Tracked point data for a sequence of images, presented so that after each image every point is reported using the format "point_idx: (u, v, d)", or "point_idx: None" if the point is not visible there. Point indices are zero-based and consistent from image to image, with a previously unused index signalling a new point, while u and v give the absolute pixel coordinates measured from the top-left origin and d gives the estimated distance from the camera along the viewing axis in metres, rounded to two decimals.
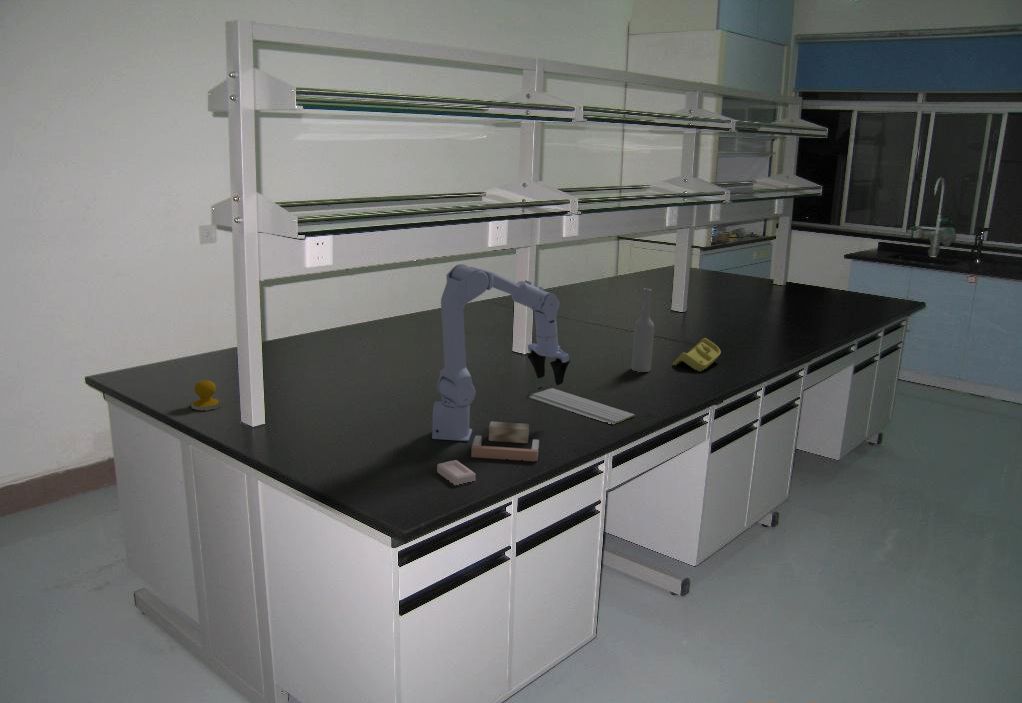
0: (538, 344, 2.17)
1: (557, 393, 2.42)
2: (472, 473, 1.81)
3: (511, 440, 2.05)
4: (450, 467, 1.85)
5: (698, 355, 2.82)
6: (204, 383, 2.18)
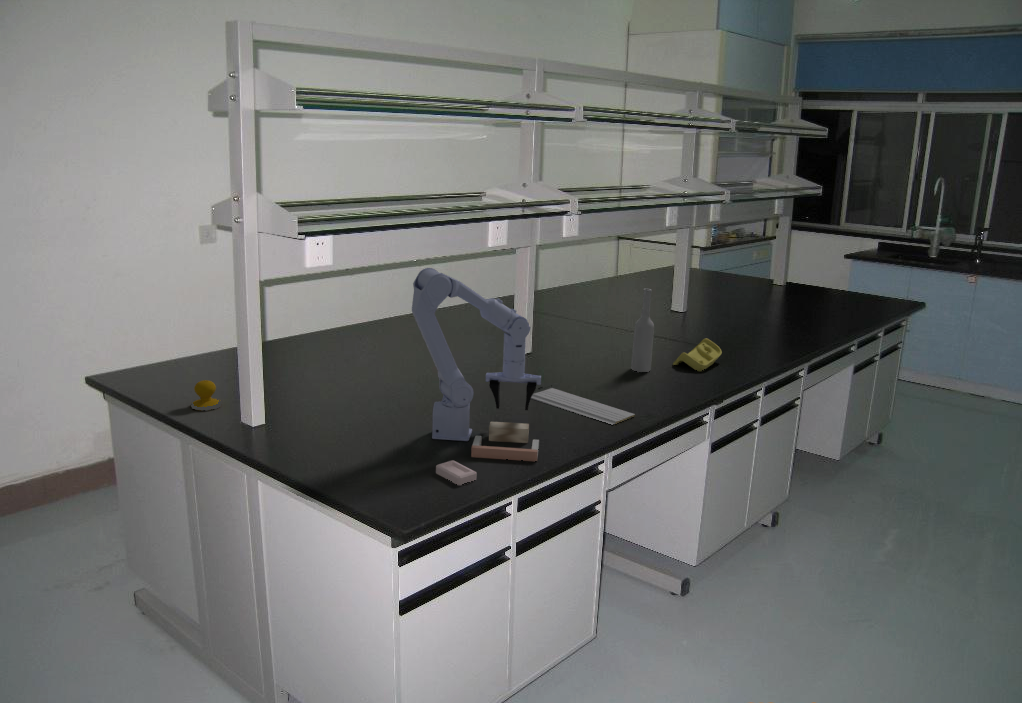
0: (510, 370, 2.07)
1: (557, 393, 2.42)
2: (473, 472, 1.81)
3: (511, 440, 2.05)
4: (449, 467, 1.84)
5: (699, 355, 2.82)
6: (204, 383, 2.18)
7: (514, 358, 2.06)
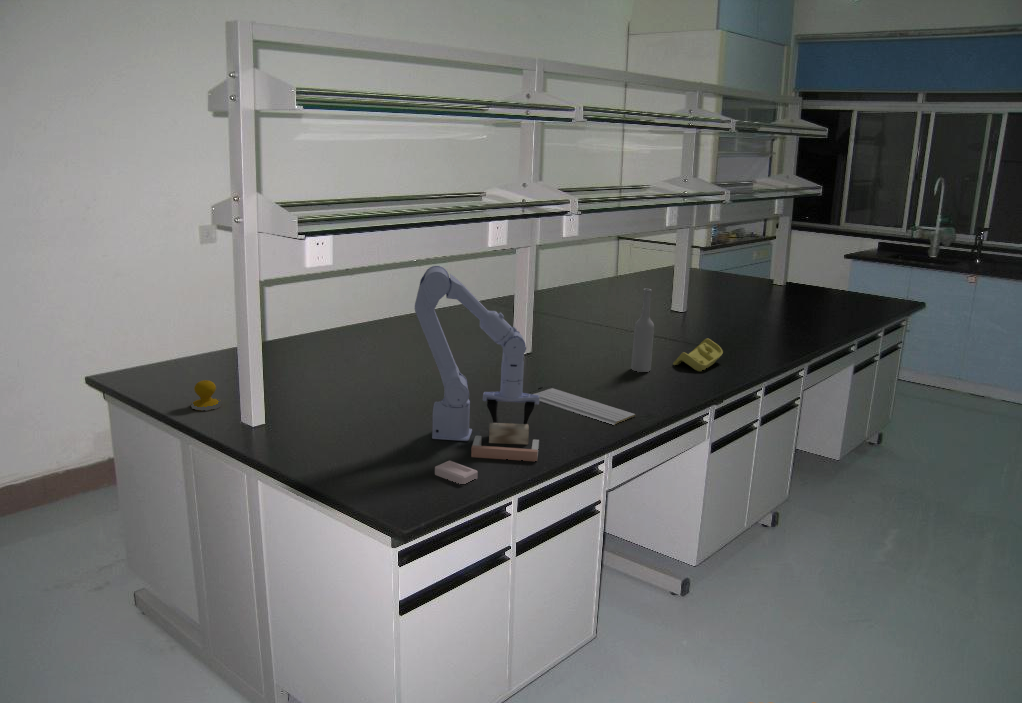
0: (508, 389, 2.03)
1: (557, 393, 2.42)
2: (475, 471, 1.82)
3: (512, 441, 2.04)
4: (448, 468, 1.84)
5: (700, 355, 2.82)
6: (204, 383, 2.18)
7: (508, 377, 2.02)
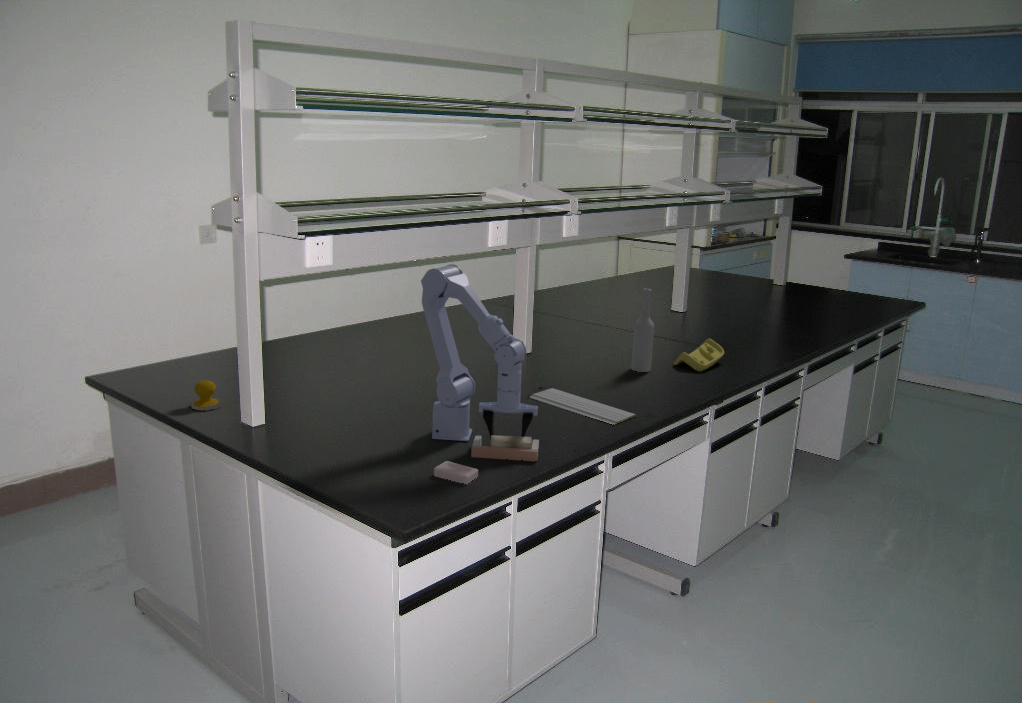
0: (505, 400, 1.95)
1: (557, 393, 2.42)
2: (475, 469, 1.83)
3: None
4: (448, 468, 1.84)
5: (701, 355, 2.82)
6: (204, 383, 2.18)
7: (500, 386, 1.95)
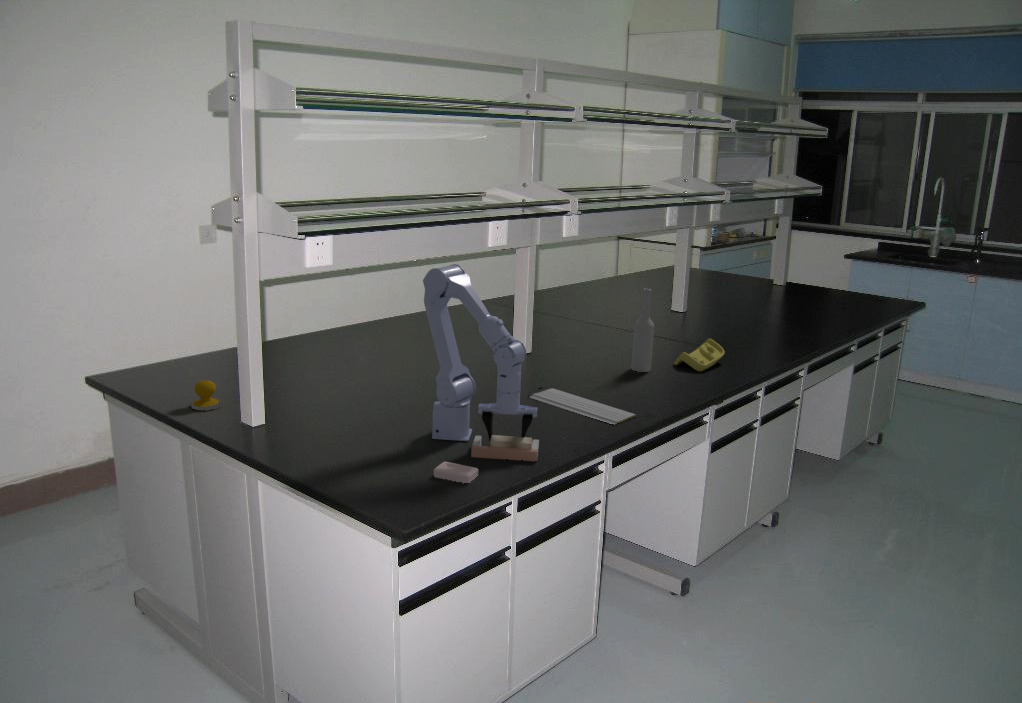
0: (505, 402, 1.94)
1: (557, 393, 2.42)
2: (476, 468, 1.83)
3: None
4: (447, 469, 1.84)
5: (701, 355, 2.82)
6: (204, 383, 2.18)
7: (499, 387, 1.94)
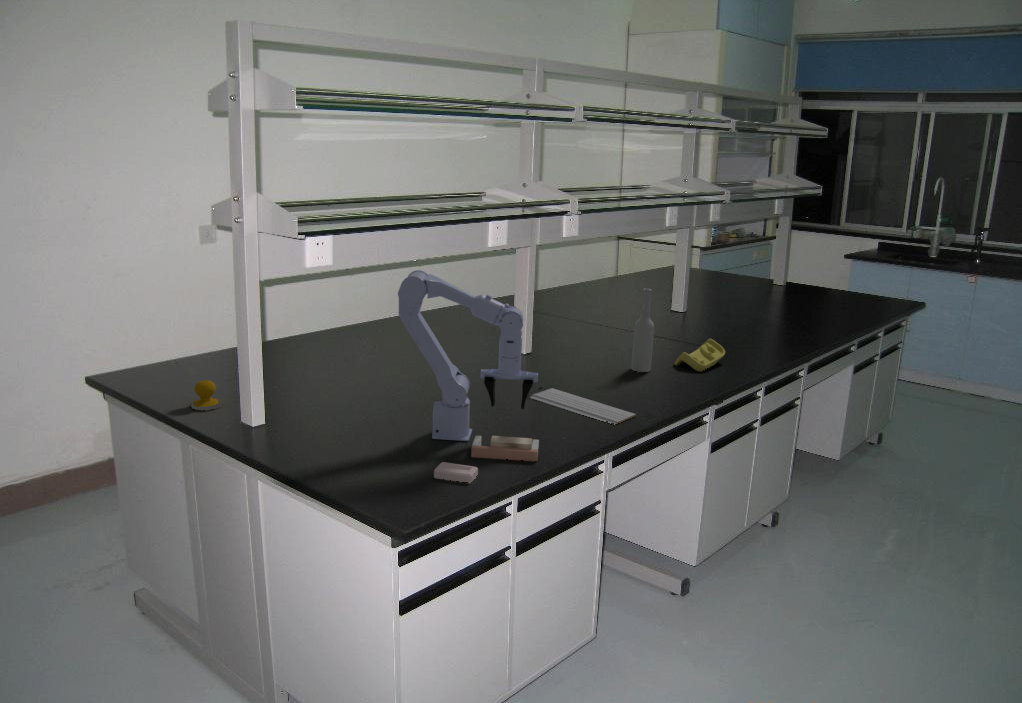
0: (506, 366, 2.00)
1: (557, 393, 2.42)
2: (475, 467, 1.84)
3: None
4: (447, 469, 1.83)
5: (701, 355, 2.82)
6: (204, 383, 2.18)
7: (505, 354, 1.99)
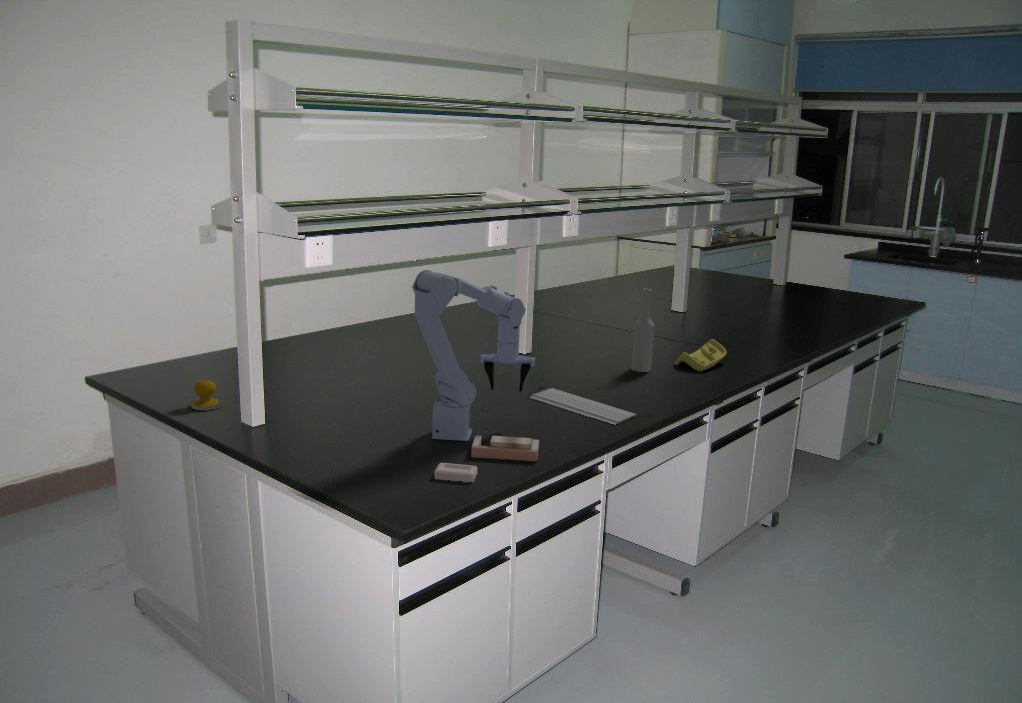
0: (505, 351, 2.11)
1: (557, 393, 2.42)
2: (475, 466, 1.84)
3: None
4: (447, 470, 1.83)
5: (702, 355, 2.82)
6: (204, 383, 2.18)
7: (511, 340, 2.10)
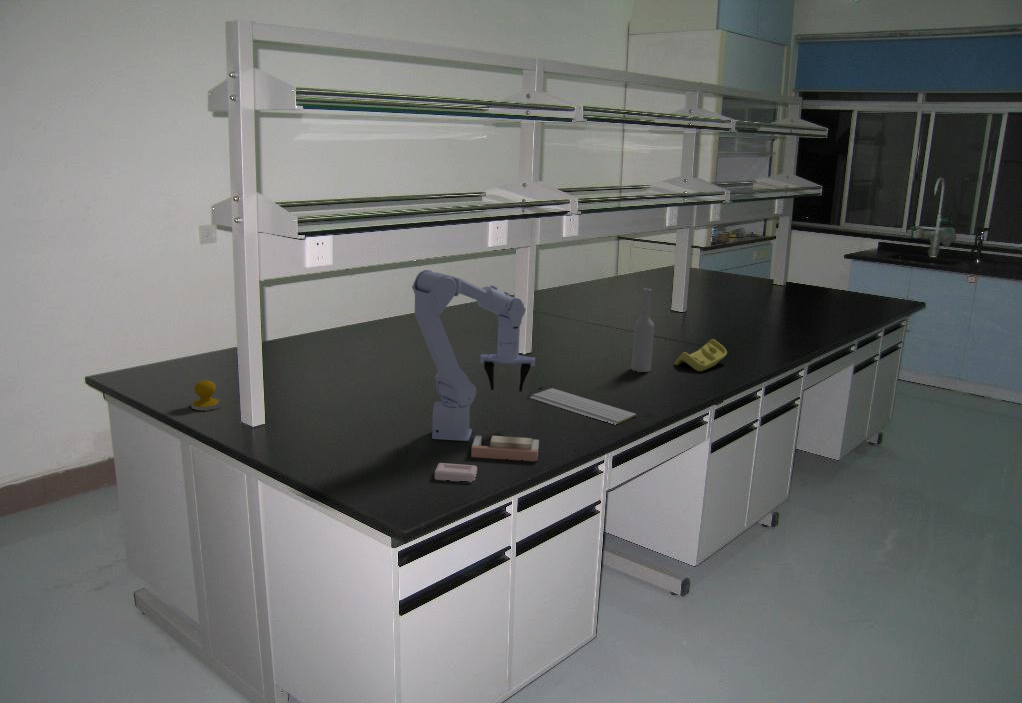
0: (505, 351, 2.11)
1: (557, 393, 2.42)
2: (475, 466, 1.85)
3: None
4: (447, 470, 1.83)
5: (702, 355, 2.82)
6: (204, 383, 2.18)
7: (511, 340, 2.10)
